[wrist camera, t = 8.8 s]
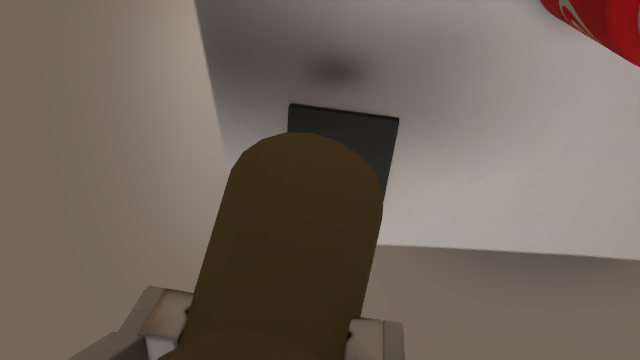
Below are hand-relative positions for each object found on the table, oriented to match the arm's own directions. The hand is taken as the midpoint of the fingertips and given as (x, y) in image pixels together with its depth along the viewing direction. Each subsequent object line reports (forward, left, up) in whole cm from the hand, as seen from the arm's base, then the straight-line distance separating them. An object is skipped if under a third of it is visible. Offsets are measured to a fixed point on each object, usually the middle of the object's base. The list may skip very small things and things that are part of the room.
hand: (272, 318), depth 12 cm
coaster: (+1, -7, -22) cm, 23 cm away
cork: (0, 0, -6) cm, 6 cm away
